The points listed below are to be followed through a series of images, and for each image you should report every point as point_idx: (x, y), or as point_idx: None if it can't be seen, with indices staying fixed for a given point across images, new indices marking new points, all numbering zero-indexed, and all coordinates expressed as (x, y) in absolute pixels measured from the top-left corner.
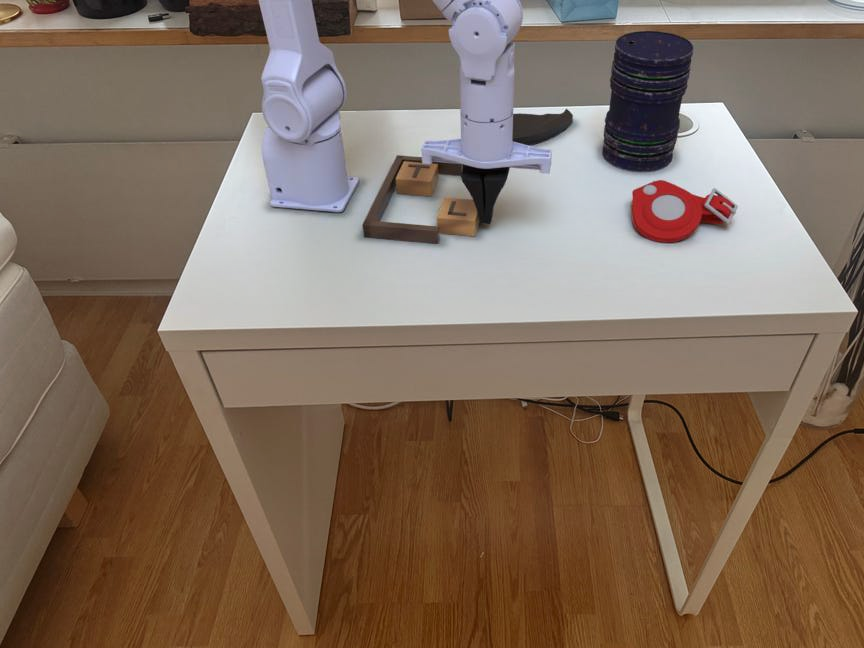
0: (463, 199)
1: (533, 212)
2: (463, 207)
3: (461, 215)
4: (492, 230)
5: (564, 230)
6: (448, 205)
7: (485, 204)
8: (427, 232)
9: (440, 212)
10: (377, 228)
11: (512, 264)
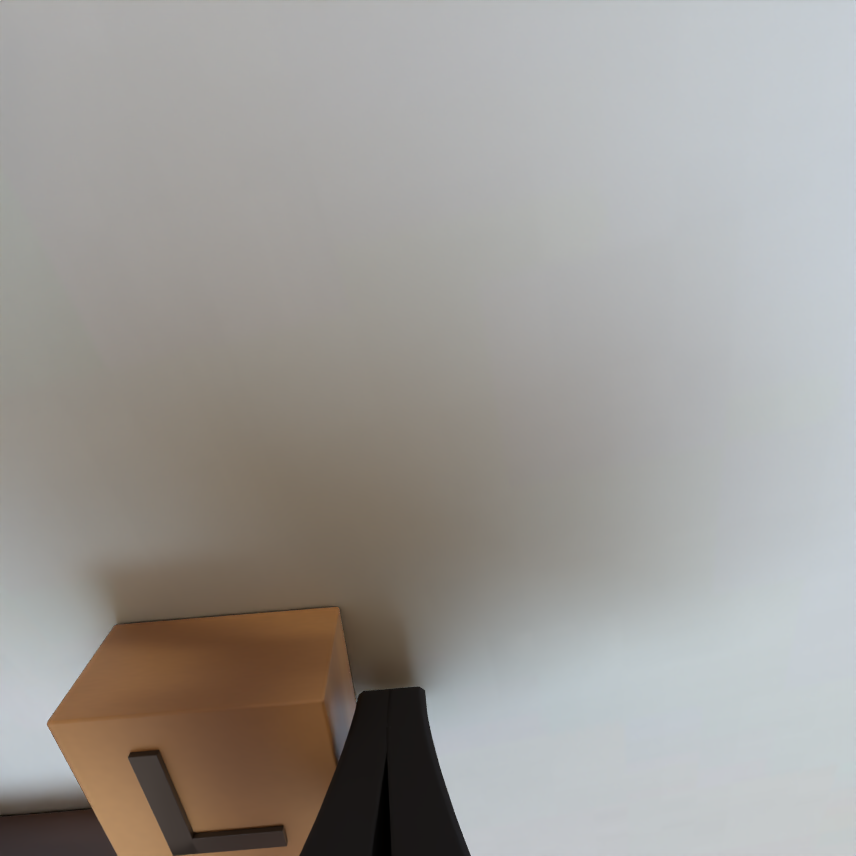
0: (194, 719)
1: (652, 503)
2: (236, 784)
3: (260, 843)
4: (436, 695)
5: (821, 620)
6: (130, 789)
7: (390, 853)
8: None
9: (123, 845)
10: None
11: (566, 848)
